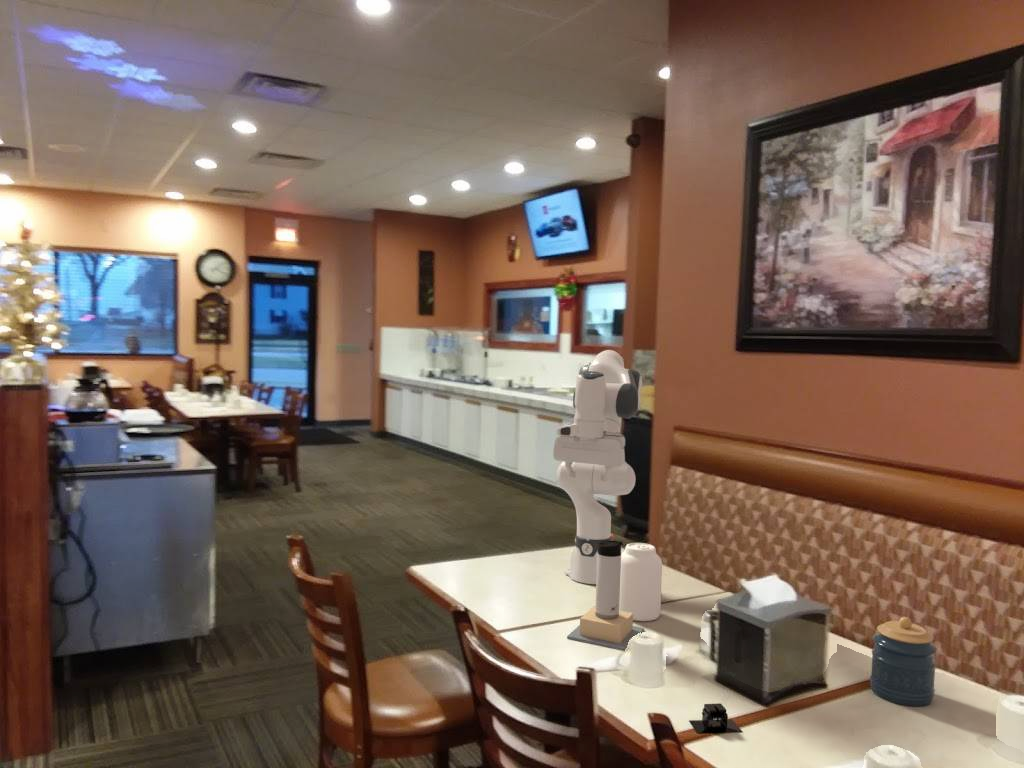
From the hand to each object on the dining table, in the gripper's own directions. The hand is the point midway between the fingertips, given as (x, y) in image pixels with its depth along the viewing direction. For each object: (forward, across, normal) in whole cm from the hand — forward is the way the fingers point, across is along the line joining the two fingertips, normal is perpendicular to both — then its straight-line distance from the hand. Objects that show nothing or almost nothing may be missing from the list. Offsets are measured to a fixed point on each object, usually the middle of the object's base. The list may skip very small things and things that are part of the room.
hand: (587, 479), depth 214 cm
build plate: (+40, -45, +45) cm, 75 cm away
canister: (+39, -80, +9) cm, 90 cm away
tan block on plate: (+39, -10, +9) cm, 41 cm away
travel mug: (+34, -10, +9) cm, 37 cm away
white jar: (+39, -13, -10) cm, 43 cm away
